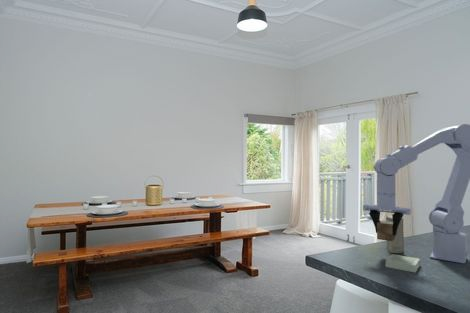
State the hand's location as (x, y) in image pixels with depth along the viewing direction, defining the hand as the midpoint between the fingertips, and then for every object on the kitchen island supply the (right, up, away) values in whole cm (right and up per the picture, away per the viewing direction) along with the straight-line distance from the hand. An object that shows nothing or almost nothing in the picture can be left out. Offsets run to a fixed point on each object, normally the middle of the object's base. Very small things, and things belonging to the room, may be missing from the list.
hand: (386, 233), depth 108 cm
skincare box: (+6, -8, +6) cm, 11 cm away
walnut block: (0, -2, 0) cm, 2 cm away
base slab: (0, -7, -10) cm, 12 cm away
